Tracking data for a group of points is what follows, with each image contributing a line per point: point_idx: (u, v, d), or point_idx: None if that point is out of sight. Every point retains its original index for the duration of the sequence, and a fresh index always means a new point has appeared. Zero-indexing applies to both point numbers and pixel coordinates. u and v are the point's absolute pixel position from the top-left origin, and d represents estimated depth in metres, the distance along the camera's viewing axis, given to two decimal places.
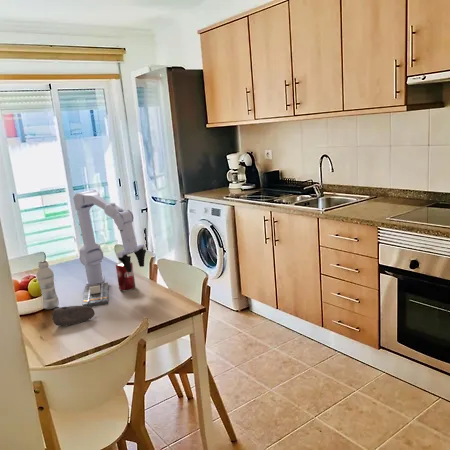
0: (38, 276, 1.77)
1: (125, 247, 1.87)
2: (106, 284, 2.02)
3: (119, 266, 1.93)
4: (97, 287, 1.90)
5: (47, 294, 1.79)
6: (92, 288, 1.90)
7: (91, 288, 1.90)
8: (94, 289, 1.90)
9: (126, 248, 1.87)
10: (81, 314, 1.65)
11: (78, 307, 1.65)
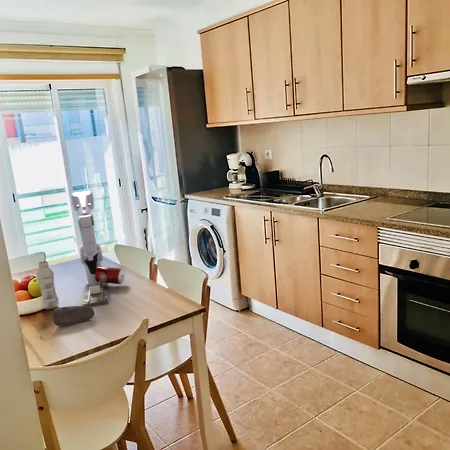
0: (38, 276, 1.77)
1: (89, 250, 1.91)
2: (106, 284, 2.02)
3: None
4: (97, 287, 1.90)
5: (47, 294, 1.79)
6: (92, 288, 1.90)
7: (91, 288, 1.90)
8: (94, 289, 1.90)
9: (91, 251, 1.91)
10: (81, 314, 1.65)
11: (78, 307, 1.65)
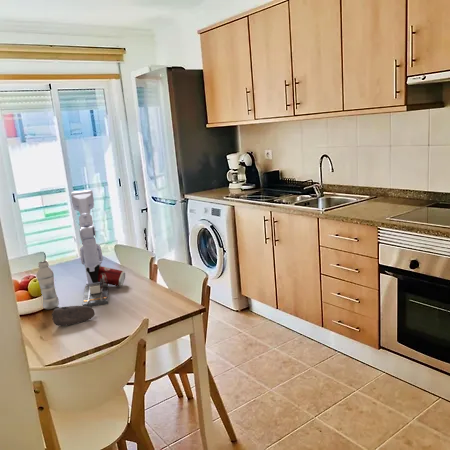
0: (38, 276, 1.77)
1: (91, 261, 1.92)
2: (106, 284, 2.02)
3: None
4: (97, 287, 1.90)
5: (47, 294, 1.79)
6: (92, 288, 1.90)
7: (91, 288, 1.90)
8: (94, 289, 1.90)
9: (92, 262, 1.92)
10: (81, 314, 1.65)
11: (78, 307, 1.65)
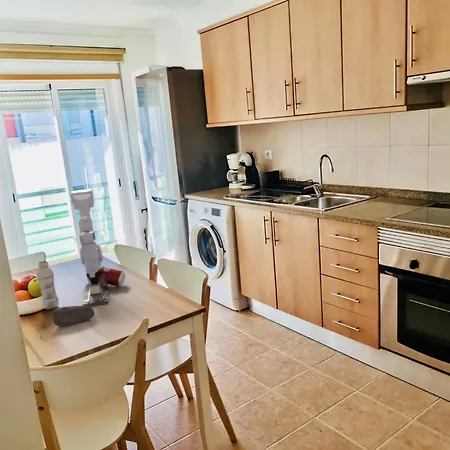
0: (38, 276, 1.77)
1: (91, 267, 1.89)
2: (106, 284, 2.02)
3: None
4: (97, 287, 1.90)
5: (47, 294, 1.79)
6: (92, 288, 1.90)
7: (91, 288, 1.89)
8: (94, 289, 1.90)
9: (92, 268, 1.89)
10: (81, 314, 1.65)
11: (78, 307, 1.65)
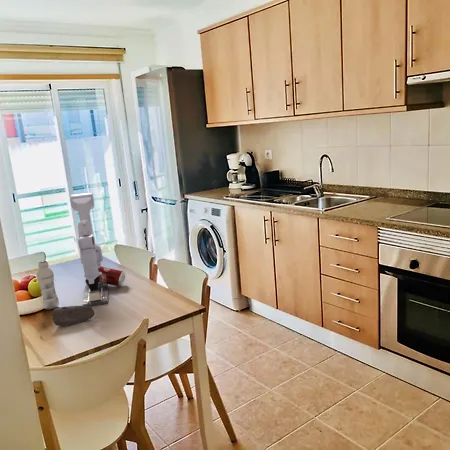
0: (38, 276, 1.77)
1: (90, 273, 1.81)
2: (106, 284, 2.02)
3: None
4: (96, 294, 1.82)
5: (47, 294, 1.79)
6: (91, 295, 1.82)
7: (90, 295, 1.82)
8: (93, 296, 1.82)
9: (92, 273, 1.81)
10: (81, 314, 1.65)
11: (78, 307, 1.65)
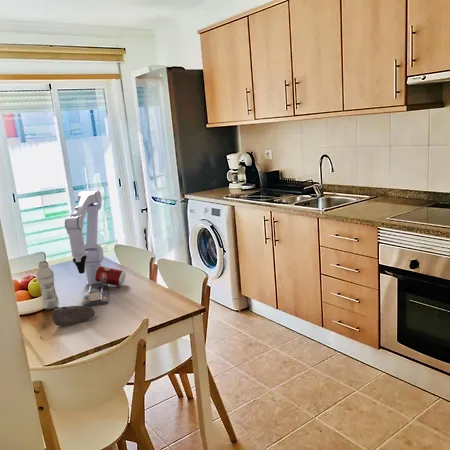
0: (38, 276, 1.77)
1: (77, 252, 1.90)
2: (106, 284, 2.02)
3: (96, 272, 1.99)
4: (96, 294, 1.82)
5: (47, 294, 1.79)
6: (91, 295, 1.82)
7: (90, 295, 1.82)
8: (93, 296, 1.82)
9: (79, 252, 1.91)
10: (81, 314, 1.65)
11: (78, 307, 1.65)
